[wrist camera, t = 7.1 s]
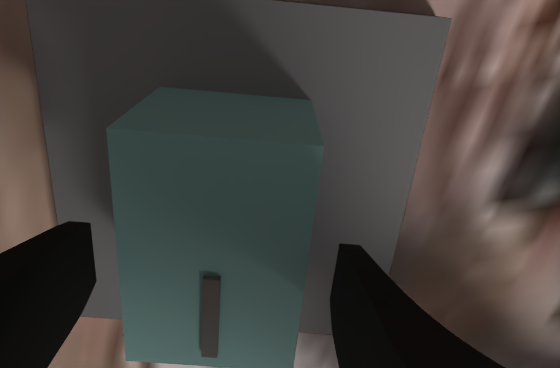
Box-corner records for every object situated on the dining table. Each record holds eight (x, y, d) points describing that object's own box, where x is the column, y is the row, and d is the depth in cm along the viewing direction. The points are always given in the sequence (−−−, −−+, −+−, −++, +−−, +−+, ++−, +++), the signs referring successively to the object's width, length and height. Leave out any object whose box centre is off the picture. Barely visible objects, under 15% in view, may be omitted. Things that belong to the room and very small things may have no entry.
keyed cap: (311, 100, 15) (324, 149, 10) (289, 277, 18) (292, 376, 14) (159, 86, 15) (103, 130, 10) (164, 268, 18) (124, 365, 13)
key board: (436, 16, 15) (502, 25, 11) (368, 315, 21) (392, 404, 17) (45, -24, 15) (-59, -31, 10) (85, 294, 21) (29, 379, 16)
